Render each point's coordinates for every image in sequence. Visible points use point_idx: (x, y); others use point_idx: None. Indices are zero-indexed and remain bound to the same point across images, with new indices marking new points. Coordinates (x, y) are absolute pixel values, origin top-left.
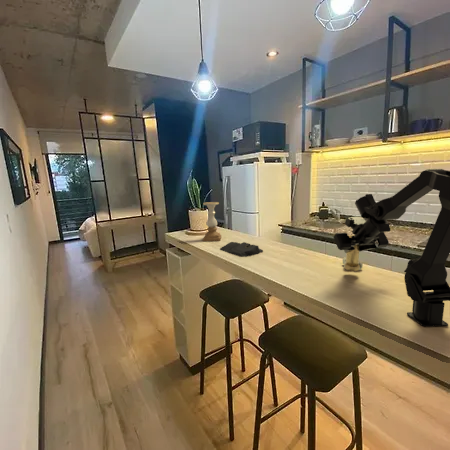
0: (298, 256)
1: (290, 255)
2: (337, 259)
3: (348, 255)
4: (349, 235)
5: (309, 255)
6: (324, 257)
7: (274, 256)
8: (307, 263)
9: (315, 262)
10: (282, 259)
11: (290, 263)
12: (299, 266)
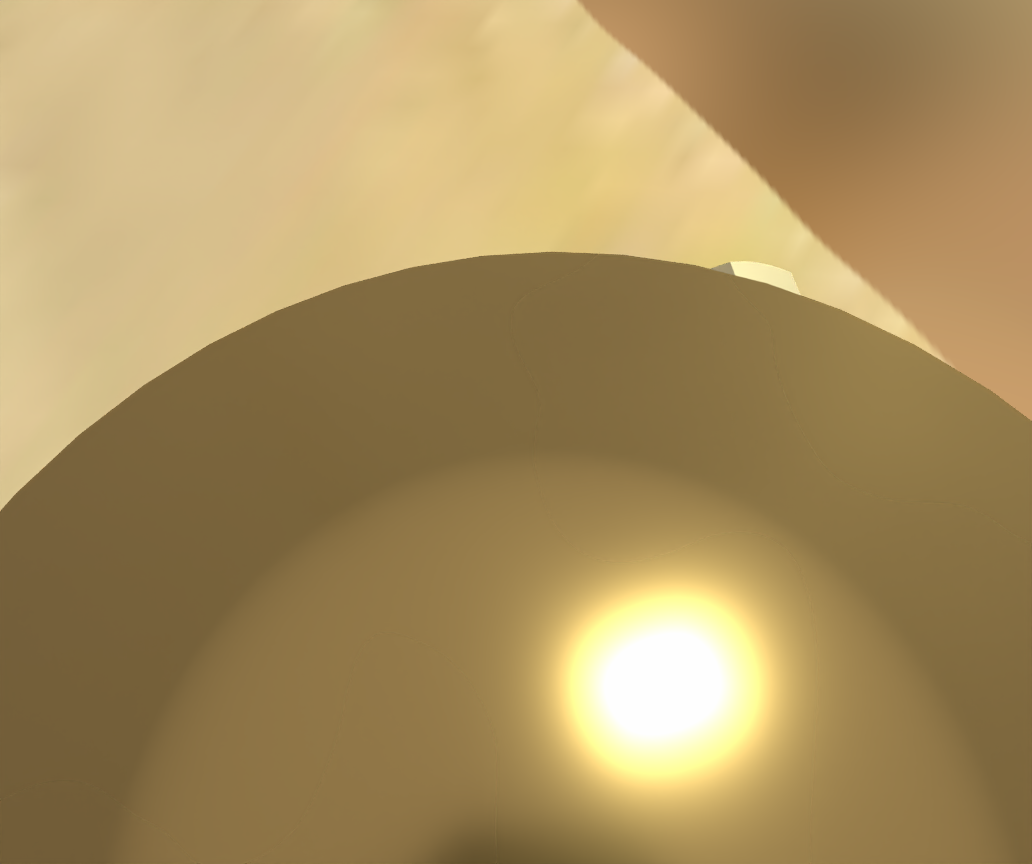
0: (265, 37)
1: (197, 5)
2: (686, 160)
3: None
4: (320, 501)
5: (411, 17)
6: (554, 86)
7: (7, 20)
8: (215, 254)
9: (337, 231)
10: (22, 107)
11: (13, 233)
12: (42, 343)
